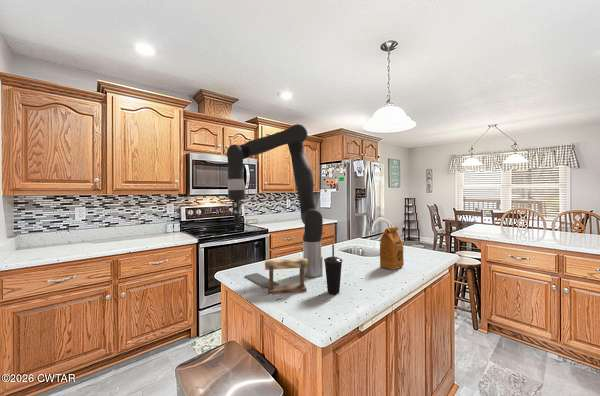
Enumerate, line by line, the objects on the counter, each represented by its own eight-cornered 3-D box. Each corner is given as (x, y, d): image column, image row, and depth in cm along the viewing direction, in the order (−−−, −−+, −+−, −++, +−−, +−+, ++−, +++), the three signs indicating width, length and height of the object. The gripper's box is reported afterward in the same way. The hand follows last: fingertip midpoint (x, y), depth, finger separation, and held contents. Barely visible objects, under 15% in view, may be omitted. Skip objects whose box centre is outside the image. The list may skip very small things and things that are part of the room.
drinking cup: (338, 297, 100) (337, 247, 99) (321, 293, 104) (320, 245, 103) (345, 291, 106) (345, 243, 106) (329, 287, 110) (328, 242, 110)
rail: (306, 265, 110) (306, 258, 110) (308, 267, 107) (308, 260, 107) (265, 267, 107) (264, 260, 107) (265, 270, 104) (265, 262, 104)
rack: (304, 287, 111) (304, 260, 111) (306, 292, 105) (306, 263, 105) (267, 289, 109) (267, 262, 108) (268, 295, 103) (267, 265, 103)
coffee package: (406, 267, 137) (406, 227, 137) (393, 271, 130) (392, 229, 130) (391, 263, 146) (390, 225, 145) (377, 267, 138) (376, 227, 138)
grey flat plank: (244, 276, 126) (244, 275, 126) (256, 273, 130) (256, 272, 130) (265, 288, 110) (265, 287, 110) (278, 284, 115) (278, 283, 115)
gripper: (243, 188, 110) (245, 225, 110) (245, 189, 124) (247, 222, 124) (225, 189, 109) (227, 226, 109) (230, 189, 123) (231, 222, 123)
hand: (238, 224), depth 117 cm, fingers open, 8 cm apart
